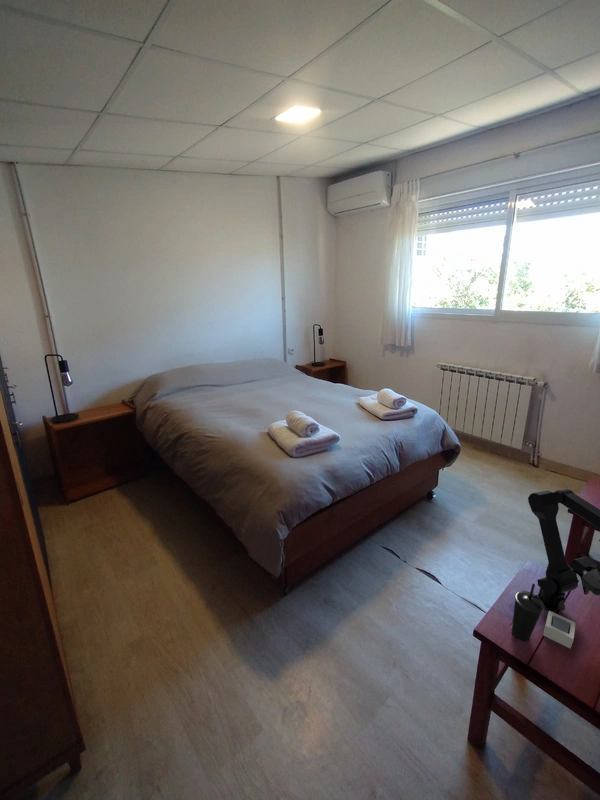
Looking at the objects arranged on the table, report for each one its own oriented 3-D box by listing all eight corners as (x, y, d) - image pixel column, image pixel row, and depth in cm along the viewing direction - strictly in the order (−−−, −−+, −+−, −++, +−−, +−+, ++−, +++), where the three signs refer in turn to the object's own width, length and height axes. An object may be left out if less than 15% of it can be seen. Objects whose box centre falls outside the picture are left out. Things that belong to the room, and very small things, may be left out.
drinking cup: (531, 651, 111) (545, 599, 104) (503, 635, 116) (515, 584, 109) (537, 634, 116) (551, 584, 110) (510, 619, 121) (522, 570, 115)
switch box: (543, 635, 116) (546, 625, 115) (546, 619, 121) (548, 610, 120) (570, 648, 112) (573, 639, 110) (572, 632, 117) (575, 622, 116)
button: (550, 632, 116) (552, 625, 115) (551, 623, 119) (553, 616, 118) (565, 640, 113) (567, 632, 112) (566, 630, 116) (569, 623, 115)
